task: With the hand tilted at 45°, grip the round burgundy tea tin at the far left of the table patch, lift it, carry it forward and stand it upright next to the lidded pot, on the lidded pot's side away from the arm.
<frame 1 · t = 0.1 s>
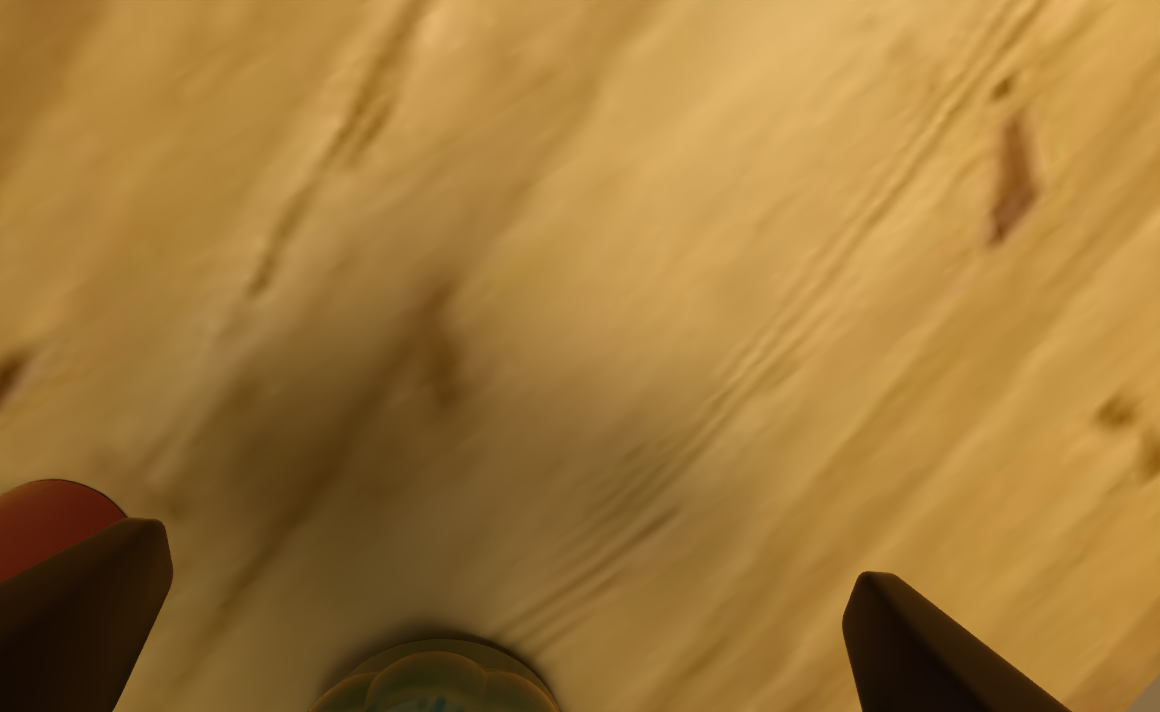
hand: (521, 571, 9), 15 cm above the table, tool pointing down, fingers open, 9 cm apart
tea canister: (62, 549, 25), on the table
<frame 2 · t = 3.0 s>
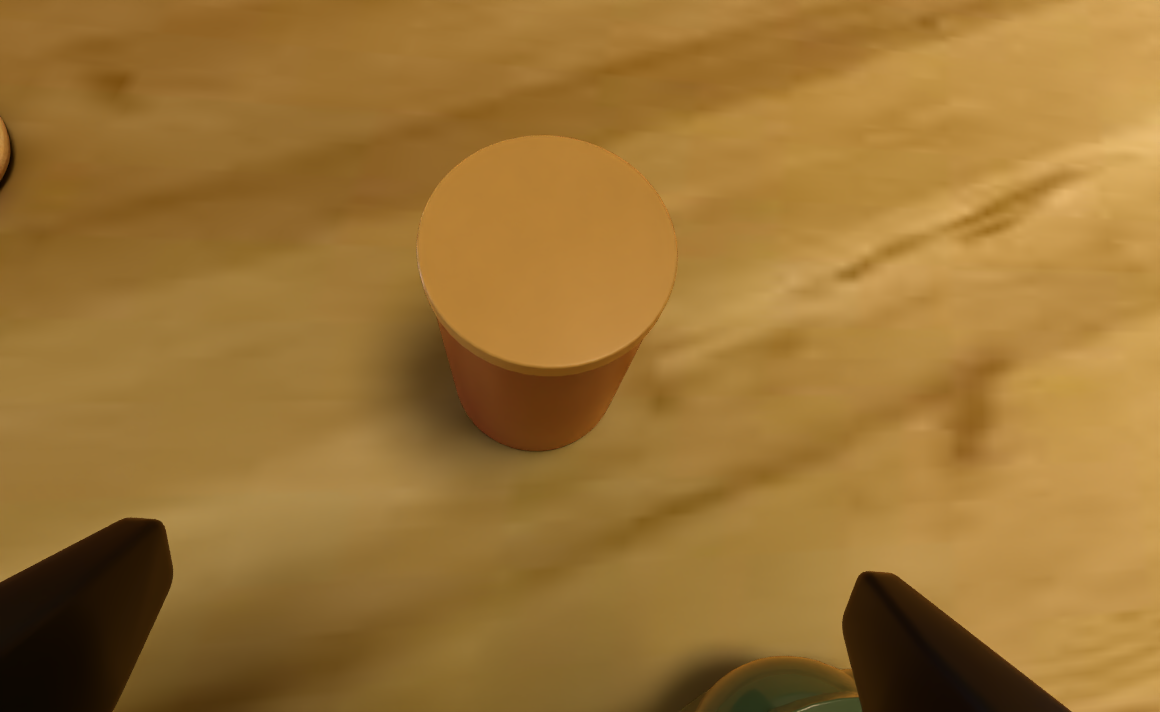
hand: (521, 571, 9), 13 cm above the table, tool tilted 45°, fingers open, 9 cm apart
tea canister: (536, 372, 23), on the table
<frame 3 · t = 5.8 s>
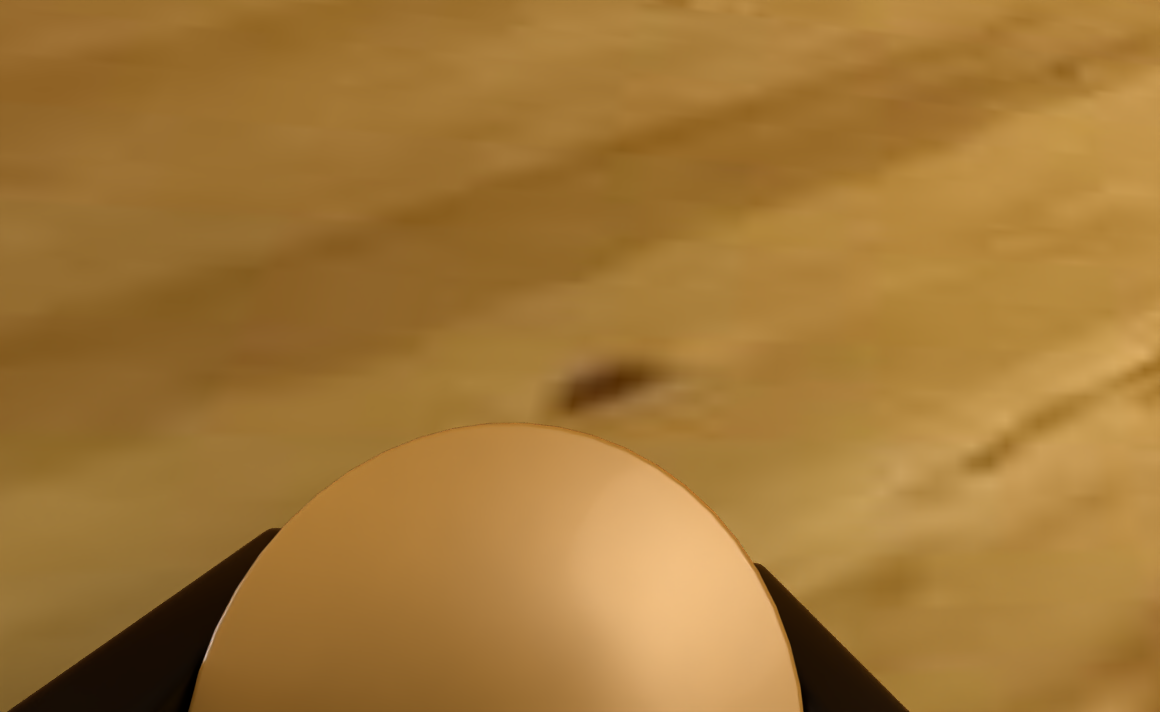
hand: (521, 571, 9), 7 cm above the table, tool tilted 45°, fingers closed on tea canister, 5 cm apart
tea canister: (510, 647, 15), on the table, touching gripper
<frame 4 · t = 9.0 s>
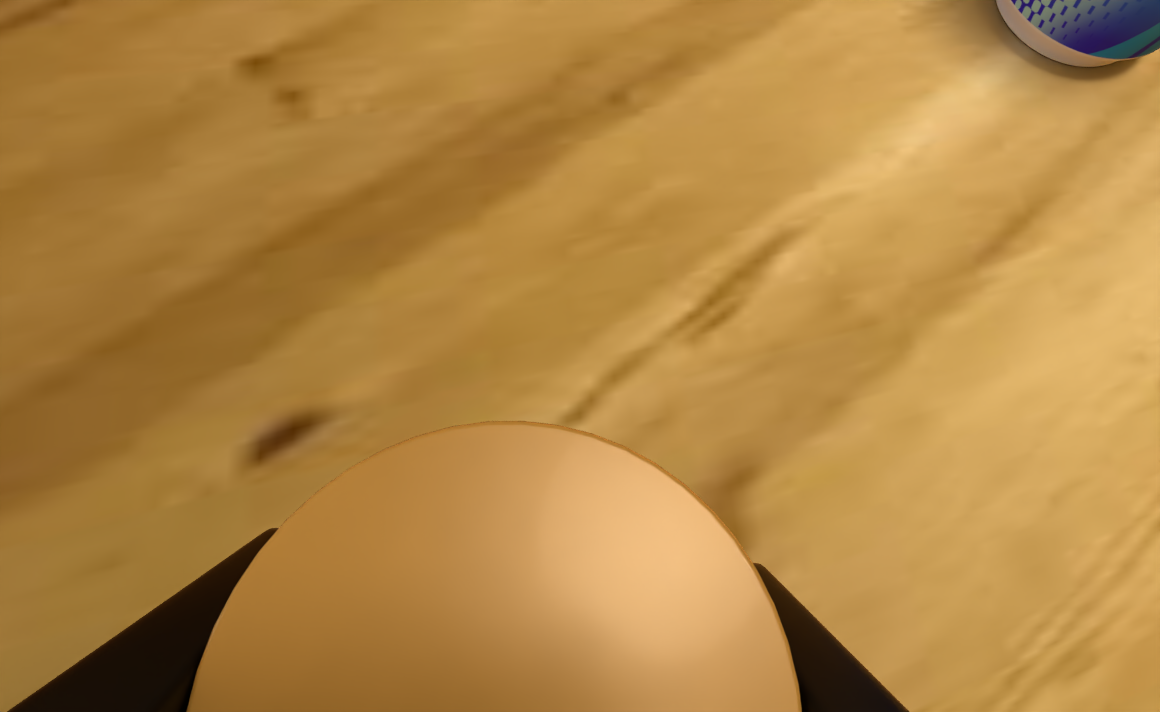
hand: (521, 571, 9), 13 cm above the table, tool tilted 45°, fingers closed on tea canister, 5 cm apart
tea canister: (510, 646, 15), point 7 cm above the table, touching gripper
beer can: (1061, 11, 32), on the table
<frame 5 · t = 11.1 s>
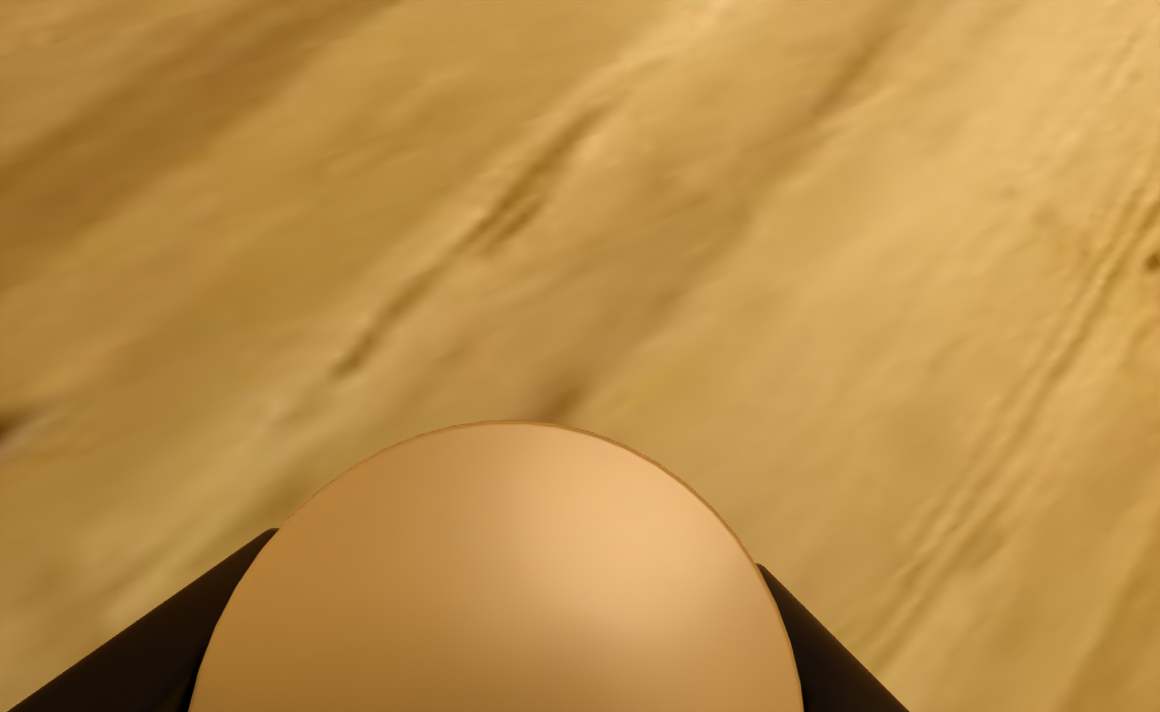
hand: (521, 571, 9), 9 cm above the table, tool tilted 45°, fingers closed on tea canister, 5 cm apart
tea canister: (510, 646, 15), point 3 cm above the table, touching gripper
when the fingers open (7 cm above the table, at t = 12.4 s): tea canister stays where it is, on the table.
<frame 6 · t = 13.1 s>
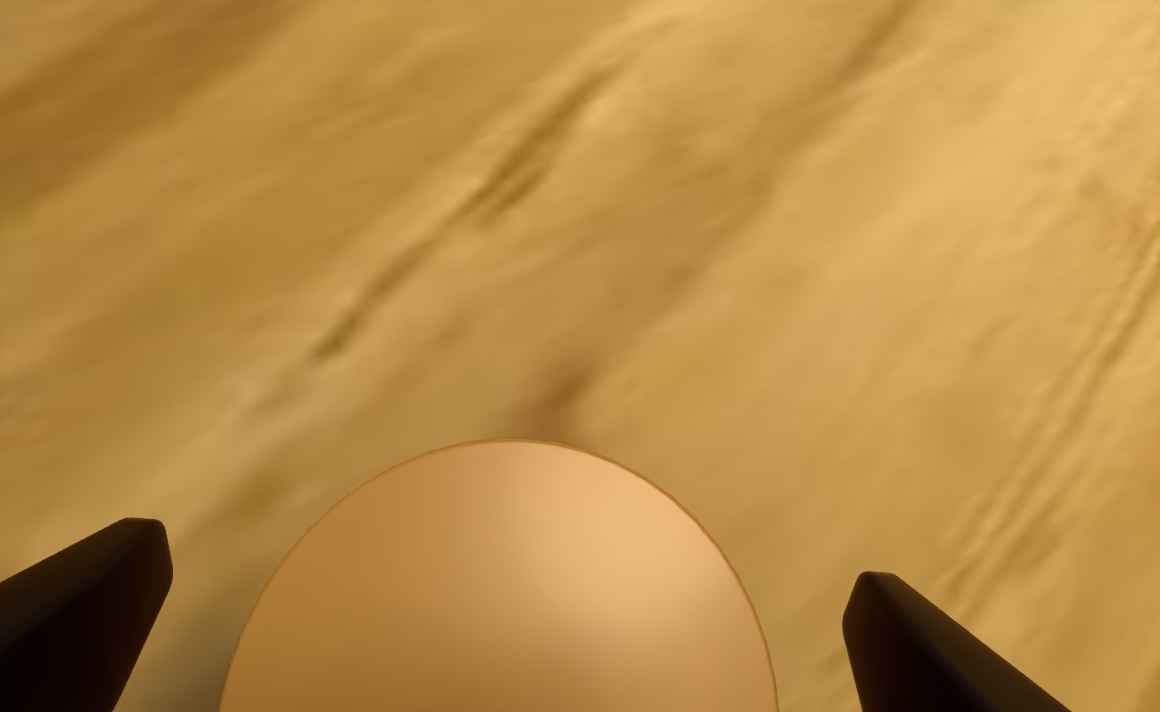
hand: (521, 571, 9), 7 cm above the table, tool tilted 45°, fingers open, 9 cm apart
tea canister: (510, 646, 15), on the table
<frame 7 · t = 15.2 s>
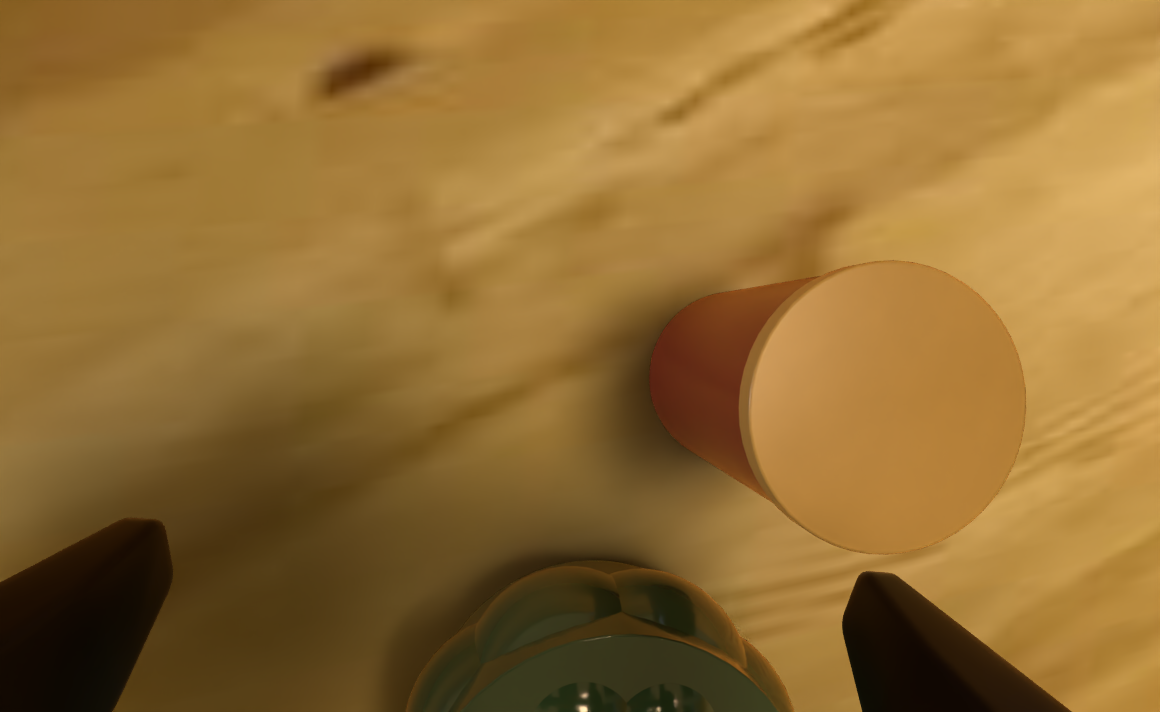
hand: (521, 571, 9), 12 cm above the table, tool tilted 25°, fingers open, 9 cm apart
tea canister: (731, 376, 22), on the table
lidded pot: (585, 702, 22), on the table
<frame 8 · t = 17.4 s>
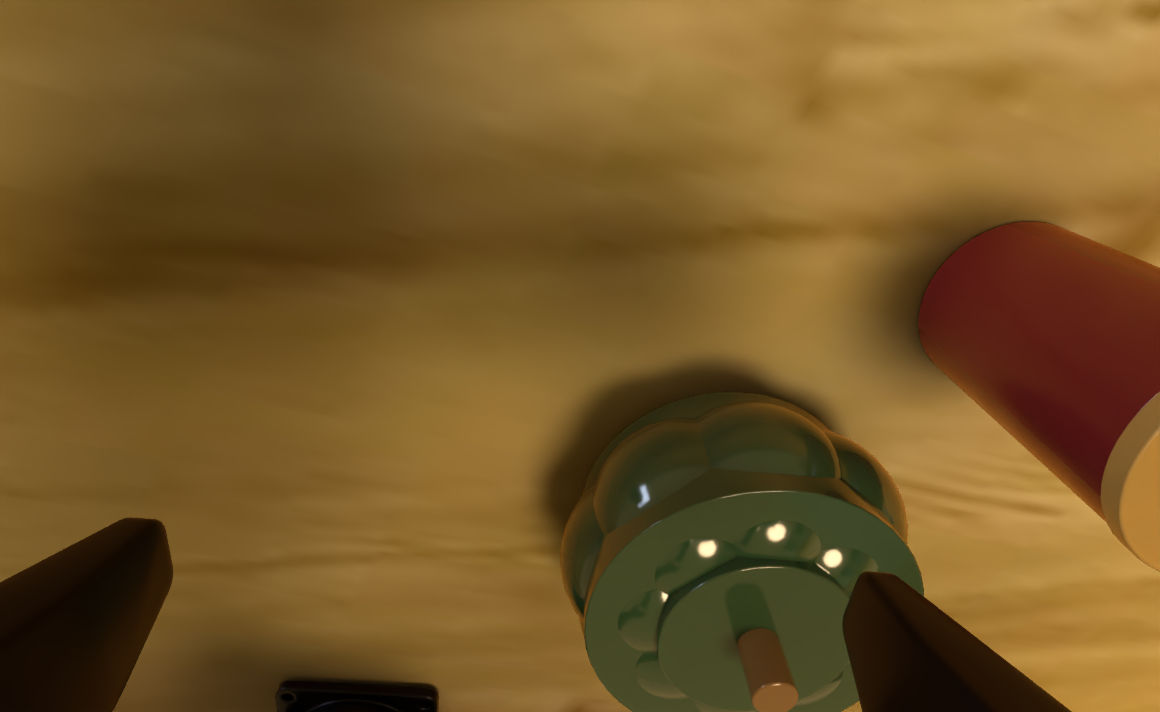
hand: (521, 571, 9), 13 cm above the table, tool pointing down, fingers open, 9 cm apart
tea canister: (1004, 305, 22), on the table
lidded pot: (713, 500, 25), on the table
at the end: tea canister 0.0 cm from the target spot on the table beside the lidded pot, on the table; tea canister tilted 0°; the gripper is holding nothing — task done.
